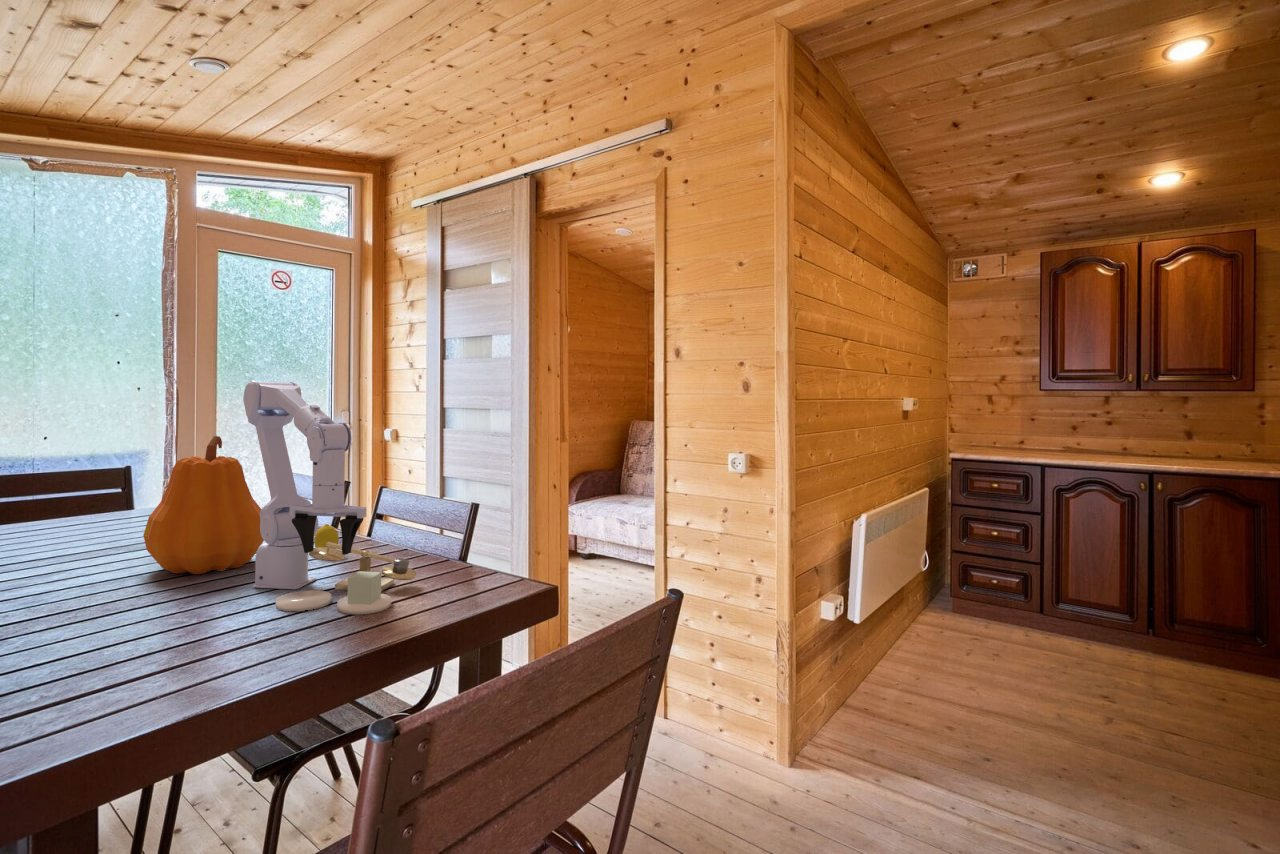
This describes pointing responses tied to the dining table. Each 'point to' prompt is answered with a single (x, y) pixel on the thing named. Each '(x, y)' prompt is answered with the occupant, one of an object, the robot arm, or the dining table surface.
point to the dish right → (364, 606)
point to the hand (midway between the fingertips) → (327, 552)
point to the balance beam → (394, 572)
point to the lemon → (326, 536)
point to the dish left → (303, 600)
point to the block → (364, 587)
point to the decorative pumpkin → (204, 516)
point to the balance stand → (365, 567)
